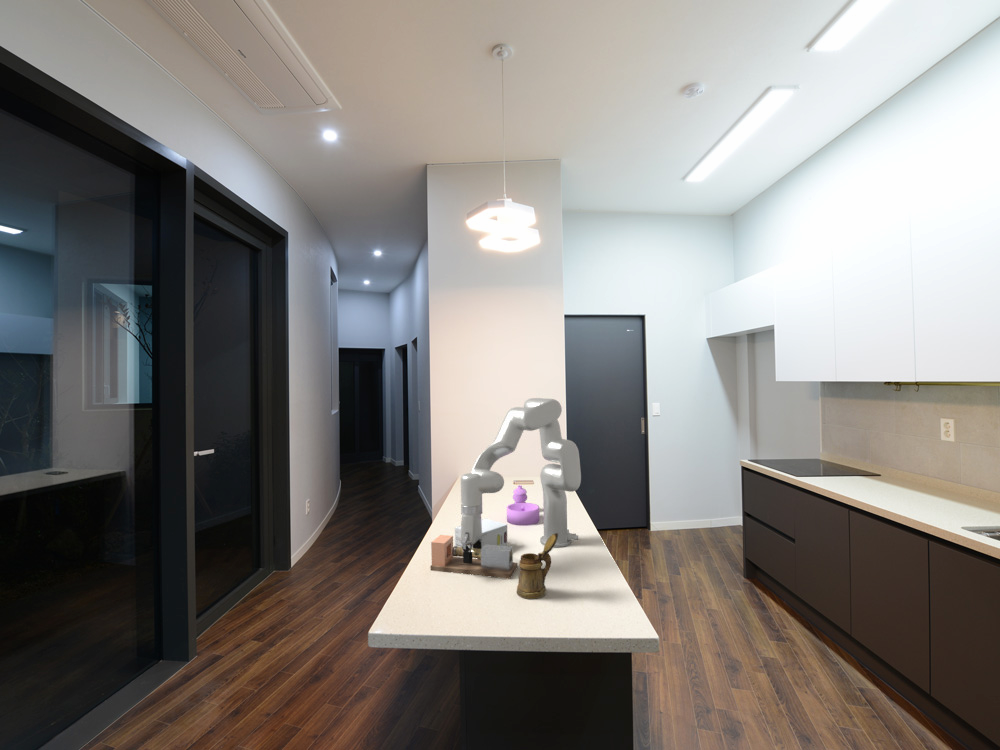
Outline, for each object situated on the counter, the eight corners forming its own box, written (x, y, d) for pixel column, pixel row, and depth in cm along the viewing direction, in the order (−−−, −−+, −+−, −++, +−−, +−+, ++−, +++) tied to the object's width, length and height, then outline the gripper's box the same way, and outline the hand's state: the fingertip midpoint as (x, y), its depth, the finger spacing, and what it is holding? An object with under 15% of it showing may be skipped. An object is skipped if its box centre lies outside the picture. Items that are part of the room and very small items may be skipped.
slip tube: (510, 559, 162) (510, 549, 162) (508, 563, 159) (508, 553, 159) (455, 554, 168) (455, 544, 168) (452, 557, 165) (452, 548, 165)
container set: (541, 525, 212) (541, 496, 212) (508, 526, 211) (507, 497, 211) (534, 509, 237) (534, 483, 237) (504, 510, 236) (504, 484, 236)
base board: (517, 567, 165) (517, 562, 165) (510, 578, 156) (510, 574, 156) (441, 559, 173) (441, 555, 173) (430, 570, 164) (430, 565, 164)
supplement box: (477, 559, 173) (476, 534, 173) (454, 550, 182) (454, 527, 182) (508, 547, 185) (508, 523, 185) (485, 539, 194) (485, 517, 194)
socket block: (453, 557, 171) (452, 535, 171) (444, 566, 163) (444, 543, 163) (440, 556, 172) (440, 534, 172) (431, 564, 165) (431, 542, 165)
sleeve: (512, 565, 163) (512, 546, 163) (509, 571, 158) (508, 551, 158) (485, 562, 166) (485, 544, 166) (481, 568, 161) (480, 549, 161)
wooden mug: (562, 596, 142) (561, 537, 142) (519, 600, 140) (518, 540, 140) (555, 584, 151) (554, 528, 151) (514, 587, 149) (513, 531, 149)
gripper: (470, 502, 174) (471, 548, 174) (452, 515, 157) (453, 566, 157) (489, 503, 172) (490, 549, 172) (473, 517, 155) (474, 568, 155)
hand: (472, 557), depth 165 cm, fingers open, 9 cm apart
